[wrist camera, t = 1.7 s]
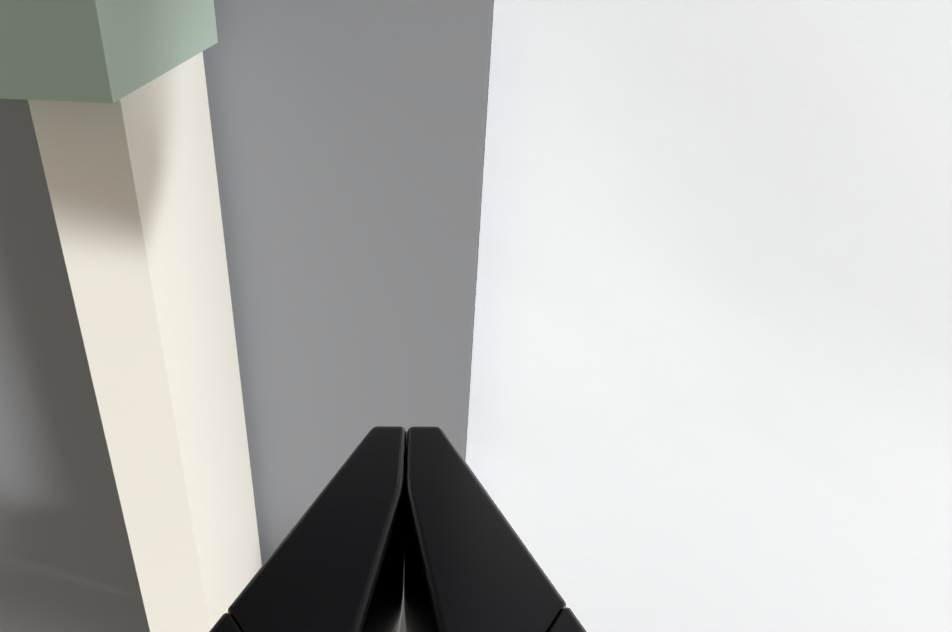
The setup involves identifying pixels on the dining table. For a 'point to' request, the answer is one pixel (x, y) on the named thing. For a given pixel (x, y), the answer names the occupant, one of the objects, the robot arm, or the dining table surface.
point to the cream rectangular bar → (147, 279)
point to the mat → (263, 282)
